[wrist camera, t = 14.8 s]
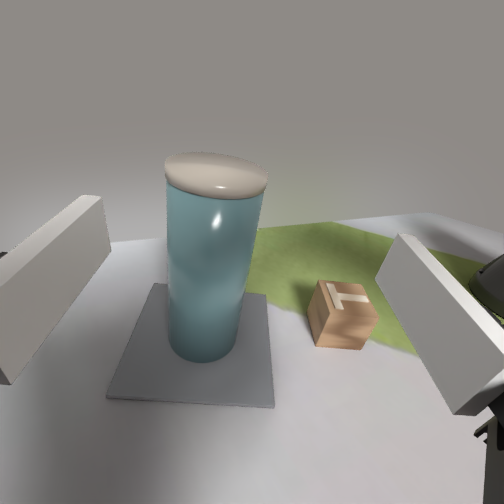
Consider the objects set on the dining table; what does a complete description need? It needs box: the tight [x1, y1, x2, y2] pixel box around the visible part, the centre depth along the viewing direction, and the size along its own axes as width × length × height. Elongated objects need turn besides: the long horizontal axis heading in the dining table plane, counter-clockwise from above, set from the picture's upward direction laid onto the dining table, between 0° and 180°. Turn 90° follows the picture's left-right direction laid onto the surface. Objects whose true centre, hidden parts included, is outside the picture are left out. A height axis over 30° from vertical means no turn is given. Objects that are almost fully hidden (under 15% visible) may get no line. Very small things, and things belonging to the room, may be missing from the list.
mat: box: [106, 283, 275, 408], centre depth 33 cm, size 16×16×1 cm
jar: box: [165, 152, 268, 363], centre depth 28 cm, size 8×8×20 cm
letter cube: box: [307, 280, 379, 350], centre depth 36 cm, size 6×6×6 cm
